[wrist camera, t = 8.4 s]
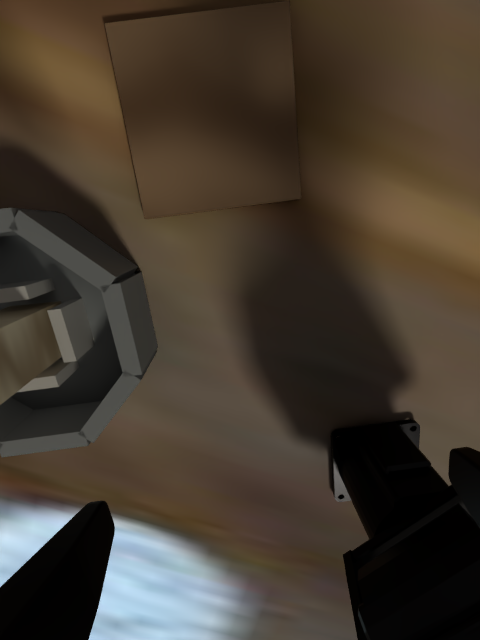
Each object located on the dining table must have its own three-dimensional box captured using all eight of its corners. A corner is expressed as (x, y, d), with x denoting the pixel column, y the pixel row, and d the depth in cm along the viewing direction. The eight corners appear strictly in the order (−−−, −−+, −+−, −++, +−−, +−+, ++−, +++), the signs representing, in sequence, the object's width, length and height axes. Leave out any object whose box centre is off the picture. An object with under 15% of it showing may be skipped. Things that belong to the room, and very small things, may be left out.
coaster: (298, 199, 18) (301, 198, 17) (147, 219, 18) (144, 218, 17) (287, 8, 15) (289, 0, 15) (109, 30, 15) (104, 23, 15)
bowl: (169, 399, 21) (157, 436, 18) (-15, 423, 21) (-68, 466, 17) (126, 203, 18) (98, 196, 14) (-99, 231, 17) (-190, 233, 14)
